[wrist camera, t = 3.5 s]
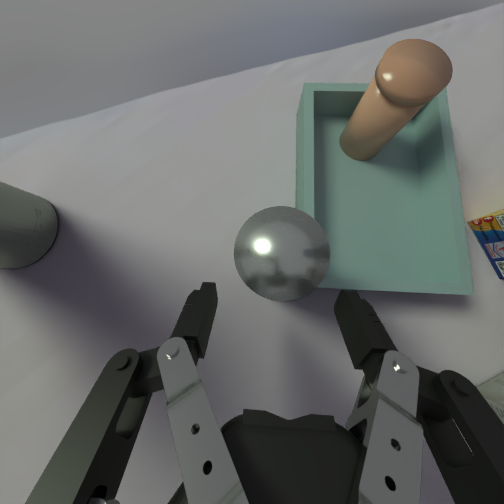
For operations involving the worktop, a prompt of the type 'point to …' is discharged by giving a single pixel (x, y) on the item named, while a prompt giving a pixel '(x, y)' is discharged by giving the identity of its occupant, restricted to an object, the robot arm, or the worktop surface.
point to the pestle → (395, 96)
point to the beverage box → (491, 238)
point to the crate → (383, 197)
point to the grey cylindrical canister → (282, 253)
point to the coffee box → (494, 394)
